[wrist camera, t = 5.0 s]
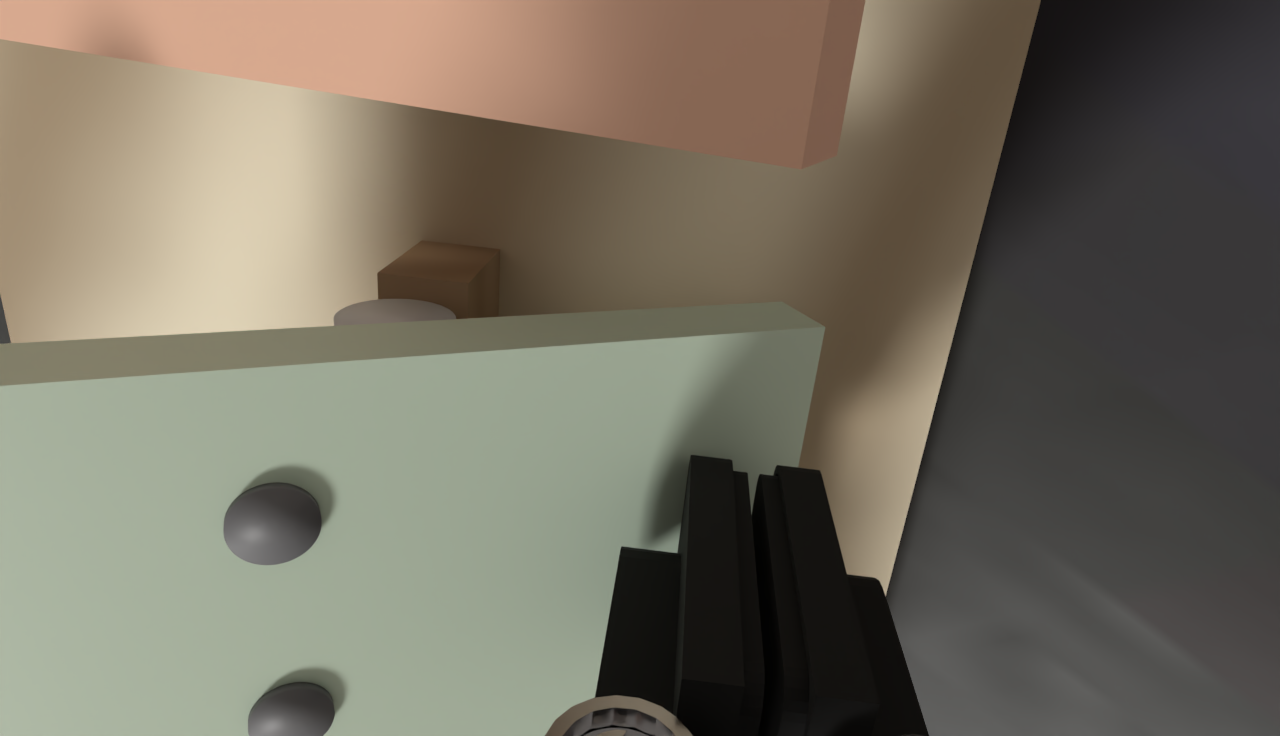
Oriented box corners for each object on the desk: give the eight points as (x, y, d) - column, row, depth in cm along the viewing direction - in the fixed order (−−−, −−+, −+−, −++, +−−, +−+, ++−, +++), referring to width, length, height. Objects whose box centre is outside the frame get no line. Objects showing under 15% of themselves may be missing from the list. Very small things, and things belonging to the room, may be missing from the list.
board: (1121, -454, 10) (1290, -650, 7) (787, 898, 19) (802, 1046, 16) (-104, -555, 10) (-410, -778, 7) (158, 813, 19) (67, 943, 17)
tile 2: (730, 271, 12) (831, 330, 10) (684, 593, 15) (758, 695, 12) (-130, 301, 8) (-257, 410, 6) (-3, 744, 10) (-63, 931, 8)
